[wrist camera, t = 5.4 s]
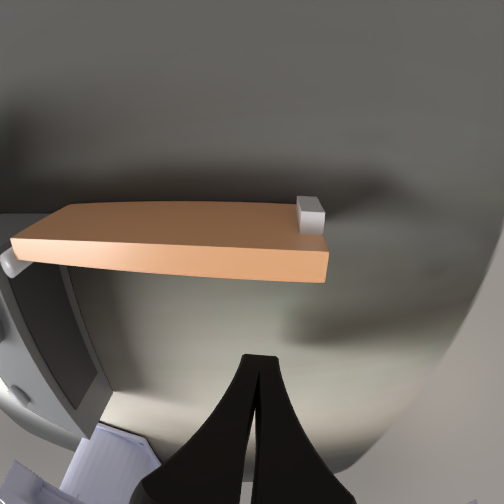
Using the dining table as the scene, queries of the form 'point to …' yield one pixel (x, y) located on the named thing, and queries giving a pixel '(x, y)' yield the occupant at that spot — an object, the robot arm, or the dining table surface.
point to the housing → (47, 342)
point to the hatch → (181, 239)
